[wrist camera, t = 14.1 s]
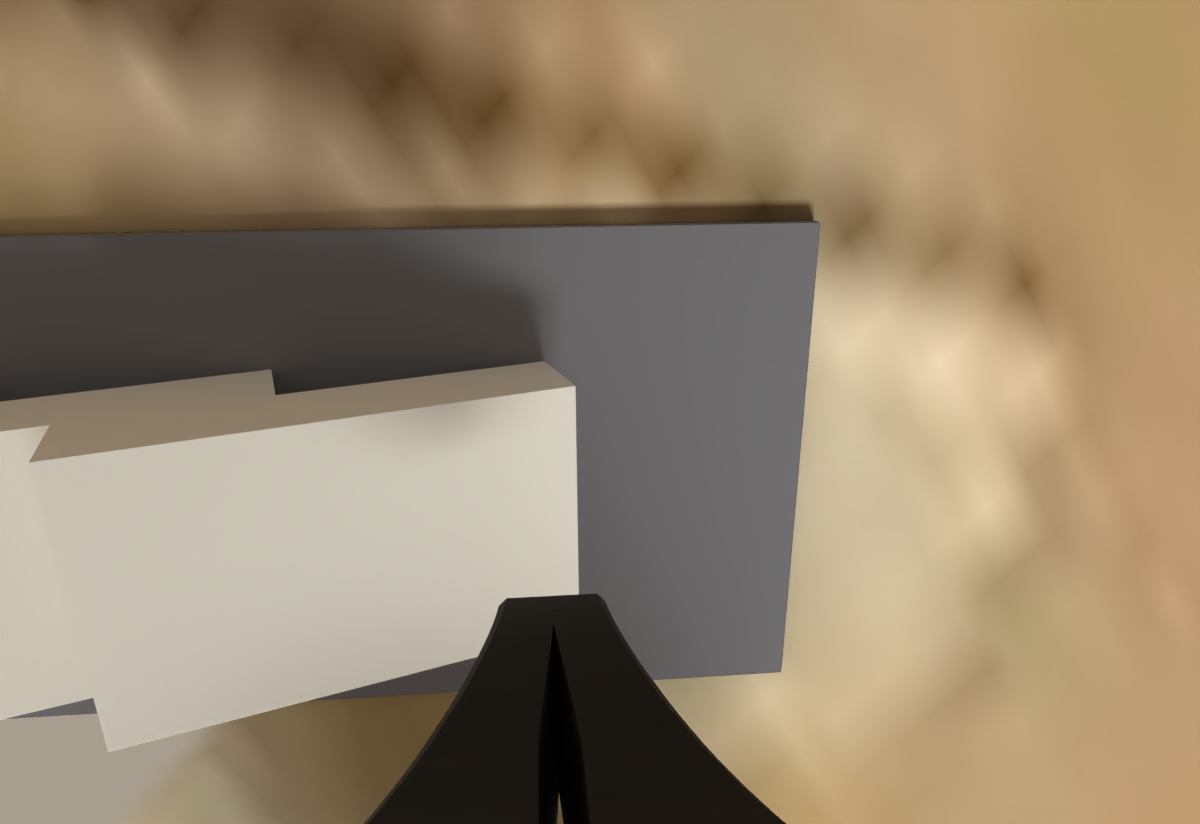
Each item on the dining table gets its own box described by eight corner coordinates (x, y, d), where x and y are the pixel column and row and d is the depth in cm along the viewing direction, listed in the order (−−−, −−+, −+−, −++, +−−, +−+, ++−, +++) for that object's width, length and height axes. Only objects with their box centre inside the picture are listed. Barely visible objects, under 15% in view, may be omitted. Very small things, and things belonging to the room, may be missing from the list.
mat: (815, 220, 15) (820, 222, 15) (777, 663, 19) (781, 672, 18) (-886, 251, 13) (-916, 254, 13) (-567, 743, 17) (-585, 754, 16)
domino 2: (575, 385, 14) (28, 462, 11) (579, 630, 16) (108, 752, 13) (544, 361, 15) (50, 423, 12) (551, 588, 17) (119, 690, 14)
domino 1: (275, 395, 14) (-372, 480, 11) (315, 644, 15) (-232, 775, 12) (271, 369, 15) (-304, 437, 12) (308, 600, 17) (-185, 708, 14)
